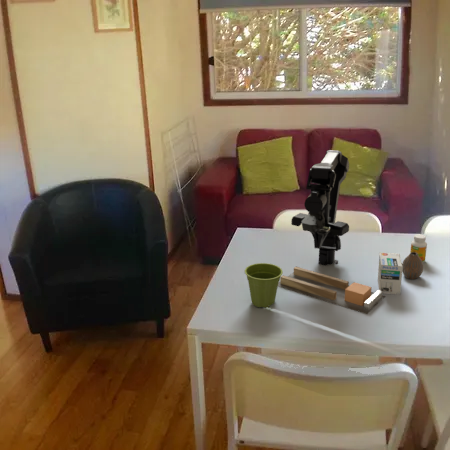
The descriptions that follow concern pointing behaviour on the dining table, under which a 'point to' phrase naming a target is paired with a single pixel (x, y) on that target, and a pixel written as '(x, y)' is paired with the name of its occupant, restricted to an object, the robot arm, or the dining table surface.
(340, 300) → the chute
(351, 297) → the orange block
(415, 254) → the vase
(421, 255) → the supplement bottle
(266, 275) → the plant pot
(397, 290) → the light bulb box
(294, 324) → the dining table surface
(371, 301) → the stop bar
